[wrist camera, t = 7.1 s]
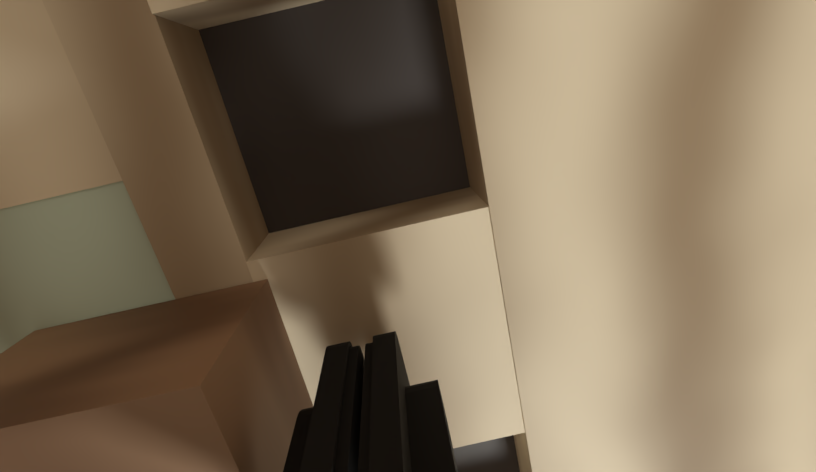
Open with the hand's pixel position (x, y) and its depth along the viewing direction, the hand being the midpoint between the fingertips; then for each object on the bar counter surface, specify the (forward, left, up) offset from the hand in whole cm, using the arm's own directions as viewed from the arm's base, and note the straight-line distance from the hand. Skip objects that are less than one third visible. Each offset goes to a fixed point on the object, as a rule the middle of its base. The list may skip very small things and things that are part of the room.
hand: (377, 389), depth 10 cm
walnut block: (+5, 0, -1) cm, 5 cm away
